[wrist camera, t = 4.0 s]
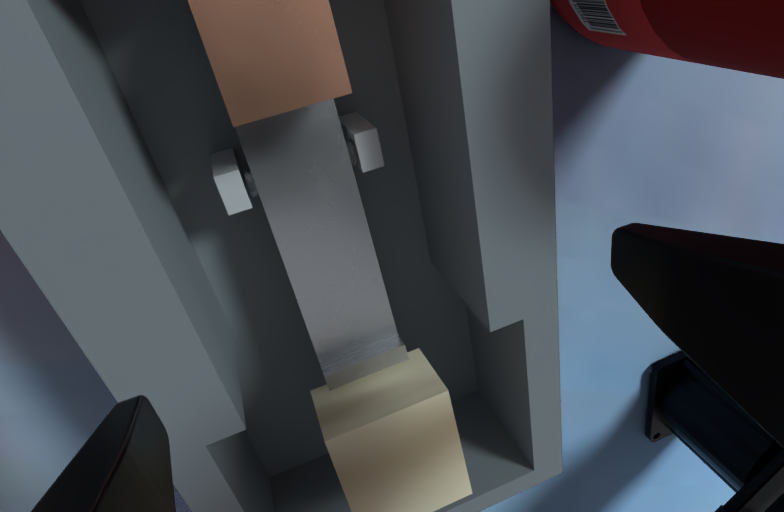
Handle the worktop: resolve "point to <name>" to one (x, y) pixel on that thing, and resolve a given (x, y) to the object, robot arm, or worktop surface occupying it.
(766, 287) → the robot arm
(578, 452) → the worktop surface
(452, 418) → the beige block
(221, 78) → the ejector lever
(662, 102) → the worktop surface
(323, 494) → the pocket board
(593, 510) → the worktop surface
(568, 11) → the canned food
